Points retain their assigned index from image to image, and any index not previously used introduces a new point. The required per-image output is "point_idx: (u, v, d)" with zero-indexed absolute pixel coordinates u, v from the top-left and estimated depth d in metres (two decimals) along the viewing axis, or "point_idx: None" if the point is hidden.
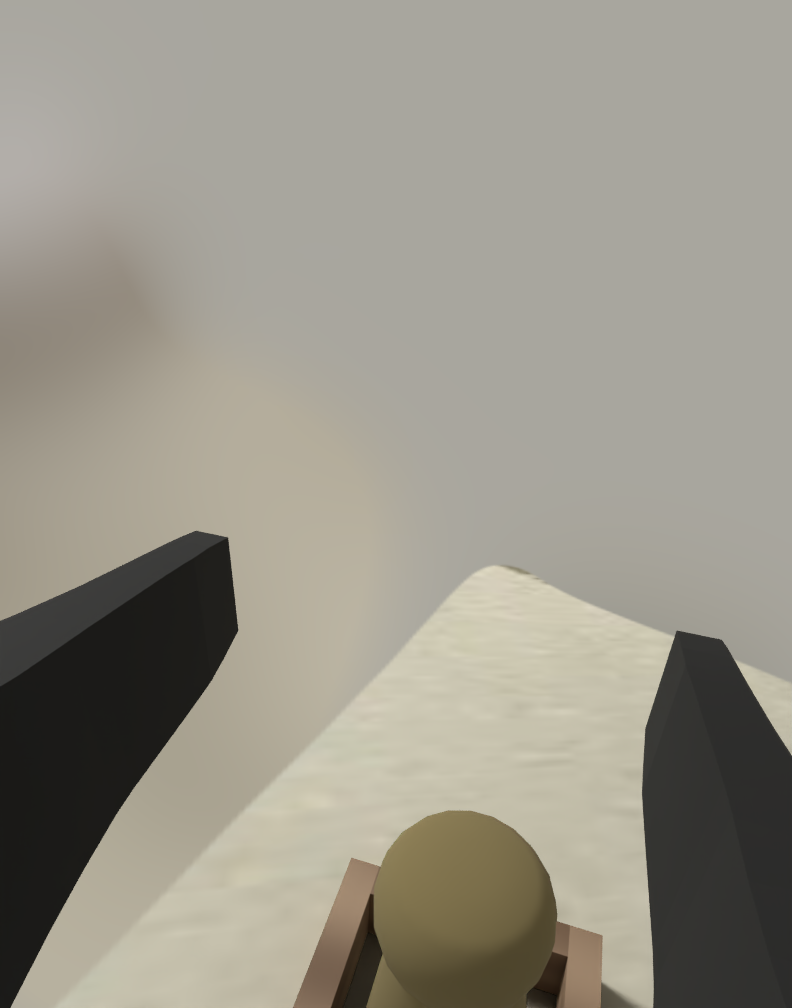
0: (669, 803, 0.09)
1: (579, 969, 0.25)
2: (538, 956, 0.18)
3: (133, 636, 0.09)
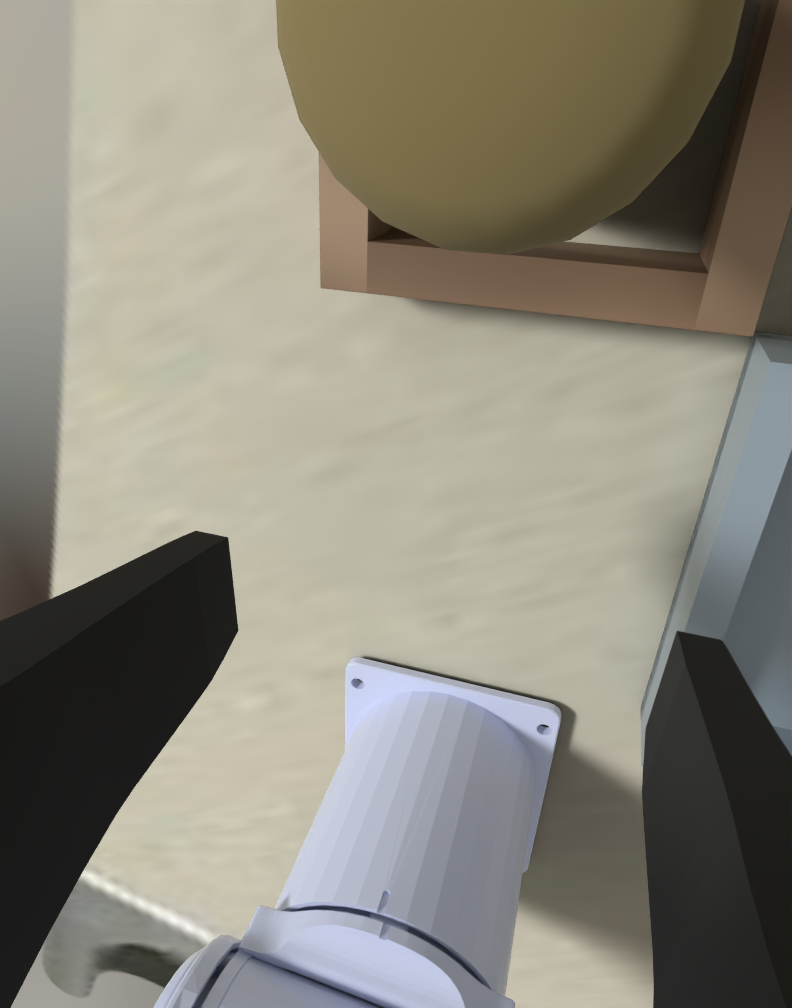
0: (669, 803, 0.09)
1: None
2: (672, 148, 0.08)
3: (133, 636, 0.09)
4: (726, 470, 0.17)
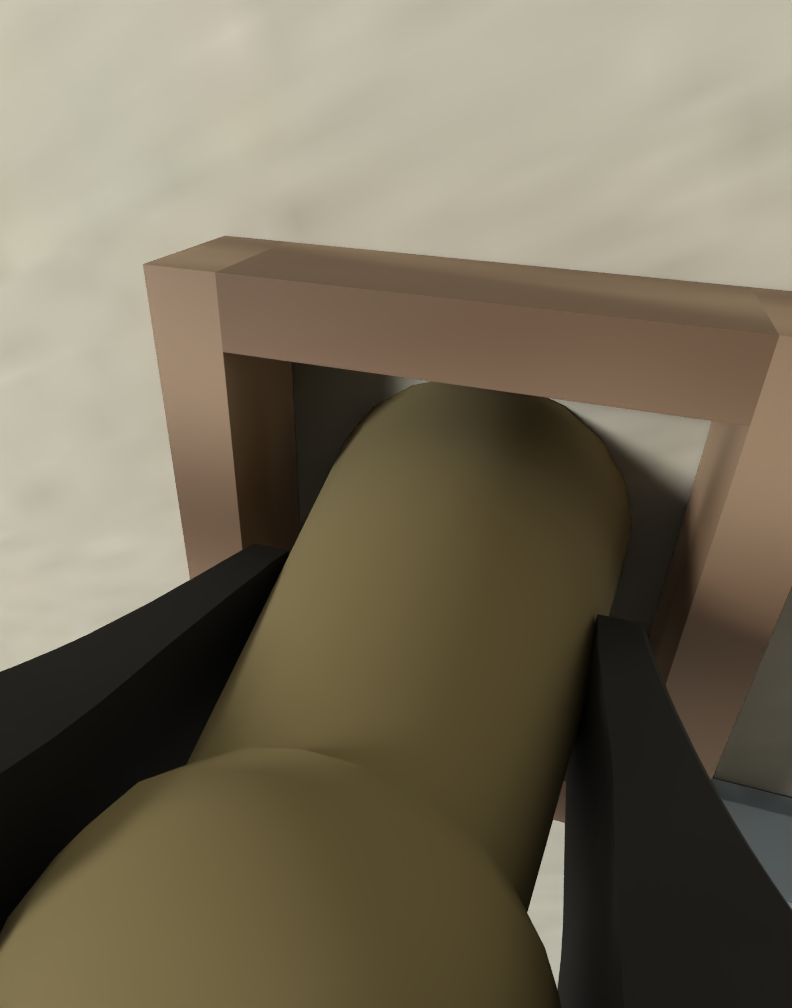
0: (580, 780, 0.09)
1: (778, 453, 0.09)
2: None
3: (204, 654, 0.09)
4: None
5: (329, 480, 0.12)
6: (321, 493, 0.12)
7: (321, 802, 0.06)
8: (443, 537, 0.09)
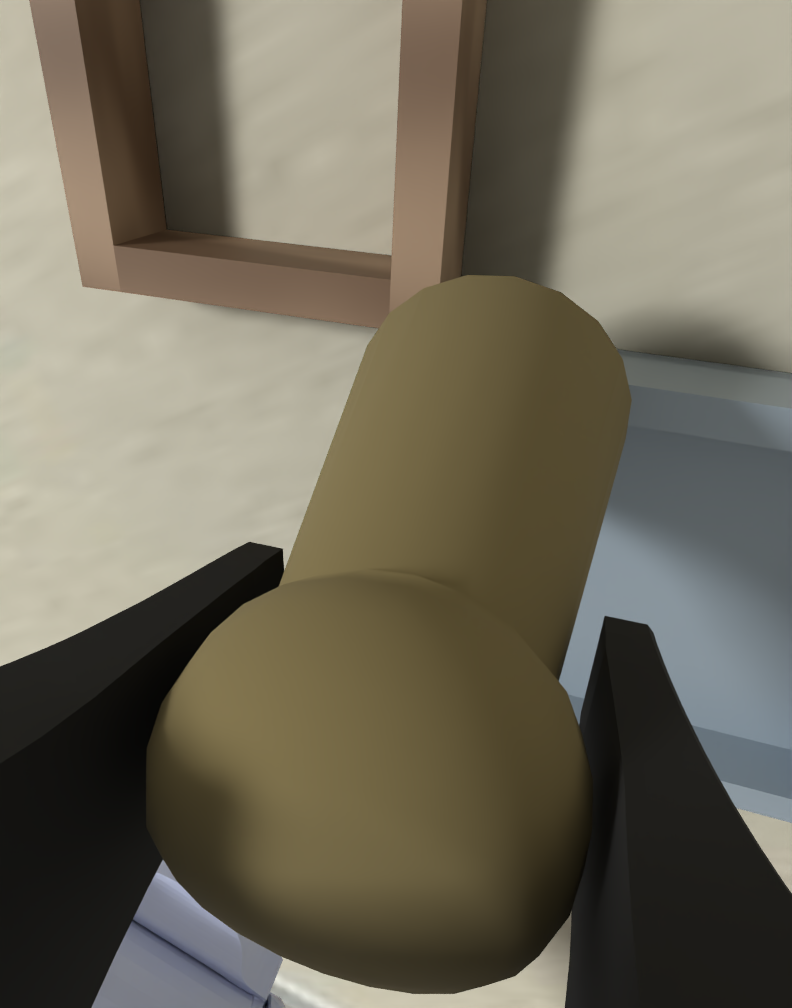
0: None
1: None
2: None
3: None
4: None
5: (357, 380, 0.14)
6: (352, 392, 0.14)
7: (389, 590, 0.07)
8: (463, 408, 0.11)
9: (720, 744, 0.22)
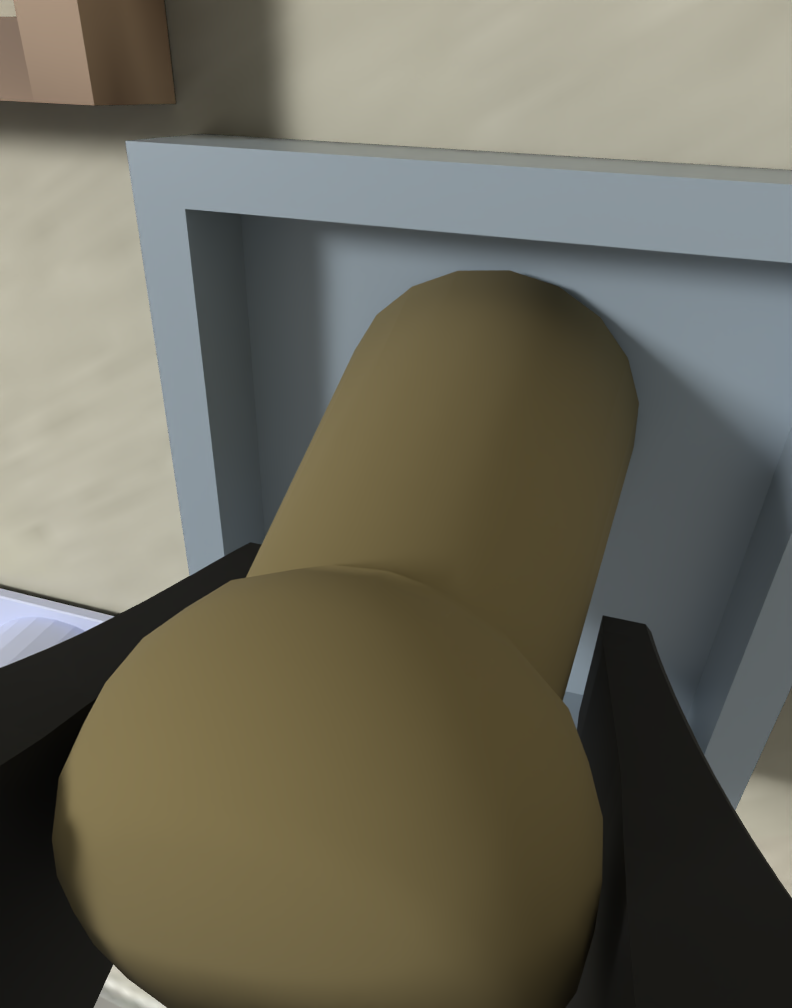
0: None
1: None
2: None
3: None
4: None
5: (340, 382, 0.13)
6: (334, 394, 0.13)
7: (351, 583, 0.06)
8: (450, 396, 0.10)
9: None
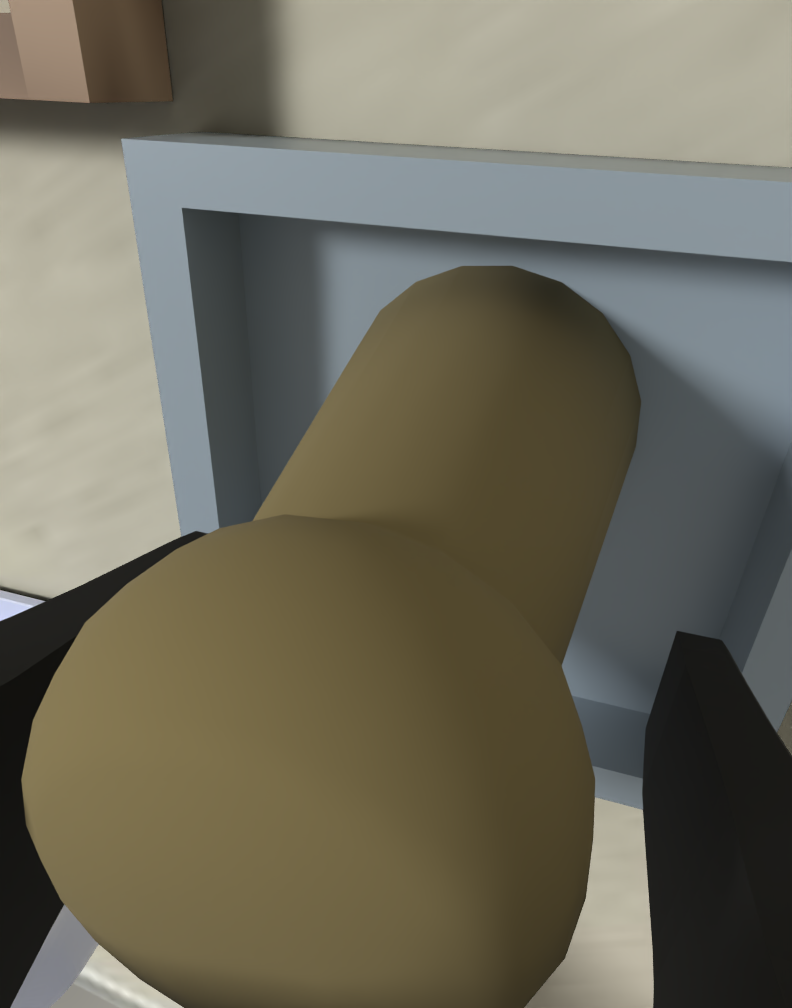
0: (669, 803, 0.09)
1: None
2: None
3: None
4: None
5: None
6: (335, 383, 0.13)
7: (340, 525, 0.06)
8: (448, 373, 0.09)
9: (585, 714, 0.17)
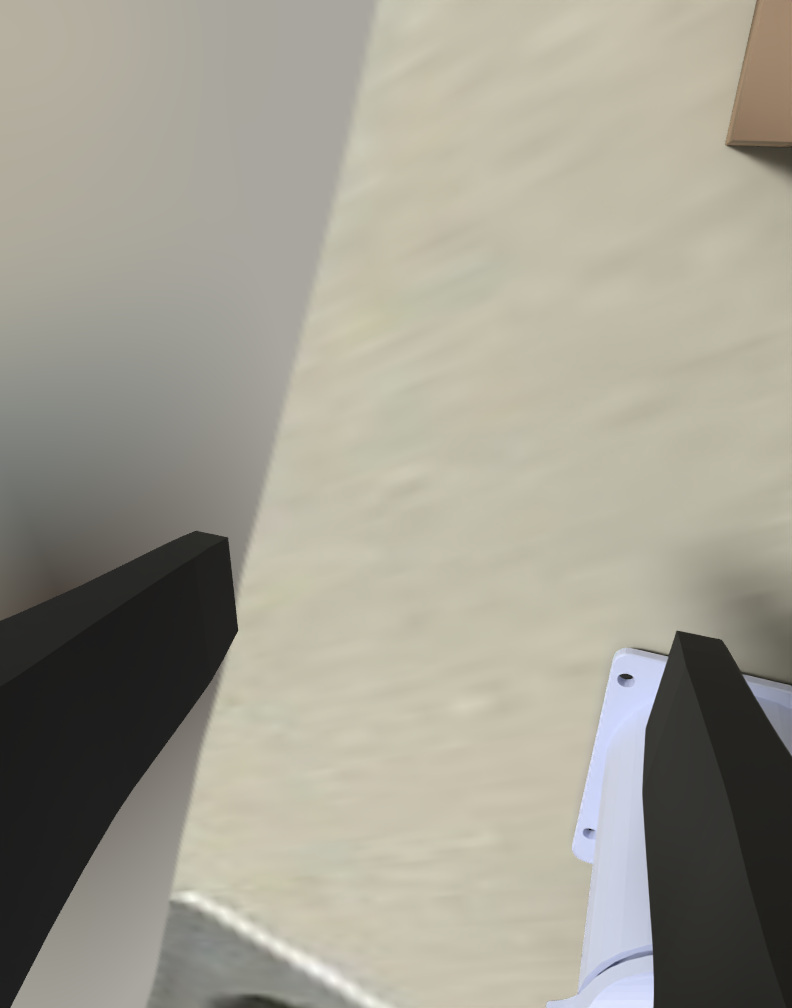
0: (669, 803, 0.09)
1: None
2: None
3: (133, 636, 0.09)
4: None
5: None
6: None
7: None
8: None
9: None
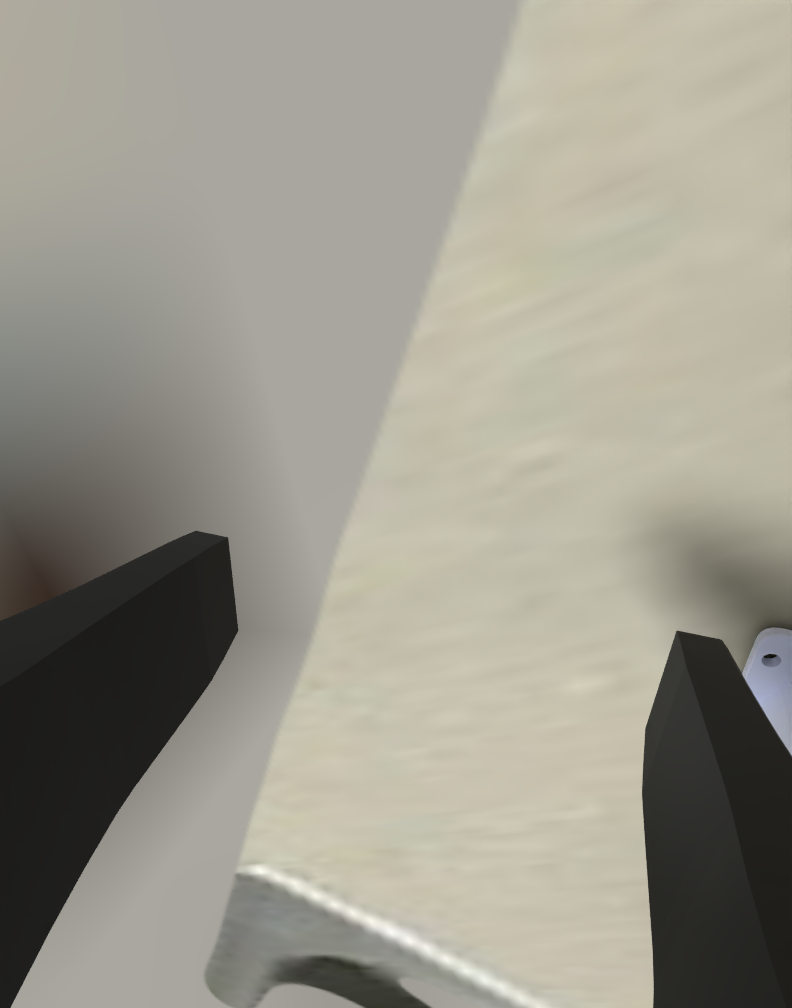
0: (669, 803, 0.09)
1: None
2: None
3: (133, 636, 0.09)
4: None
5: None
6: None
7: None
8: None
9: None
